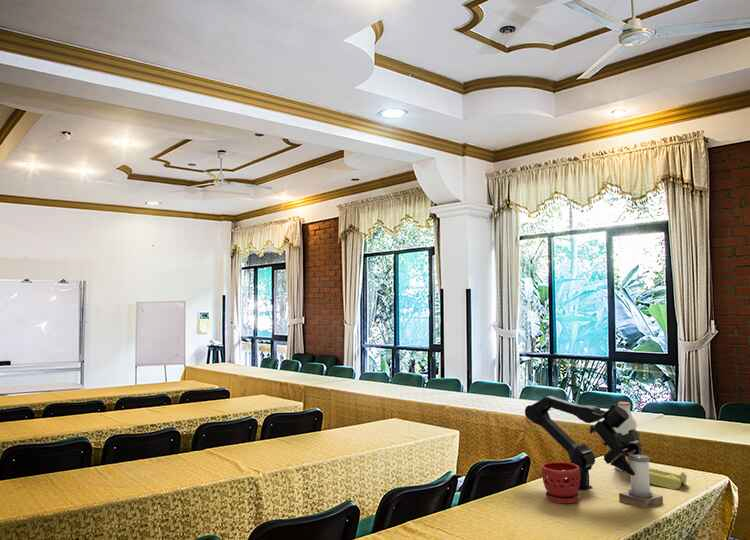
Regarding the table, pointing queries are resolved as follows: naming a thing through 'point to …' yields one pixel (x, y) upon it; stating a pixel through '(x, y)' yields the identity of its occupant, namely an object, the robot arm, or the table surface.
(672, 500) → the table surface
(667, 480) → the plastic component
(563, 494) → the plant pot
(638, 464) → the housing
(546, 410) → the robot arm
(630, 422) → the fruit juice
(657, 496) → the stand
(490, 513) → the table surface
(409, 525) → the table surface
